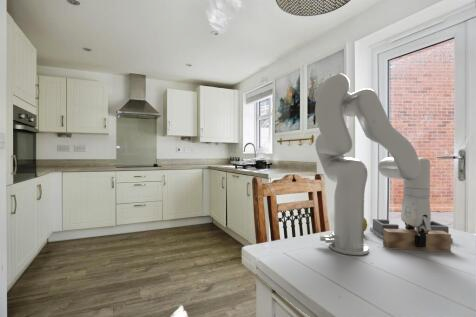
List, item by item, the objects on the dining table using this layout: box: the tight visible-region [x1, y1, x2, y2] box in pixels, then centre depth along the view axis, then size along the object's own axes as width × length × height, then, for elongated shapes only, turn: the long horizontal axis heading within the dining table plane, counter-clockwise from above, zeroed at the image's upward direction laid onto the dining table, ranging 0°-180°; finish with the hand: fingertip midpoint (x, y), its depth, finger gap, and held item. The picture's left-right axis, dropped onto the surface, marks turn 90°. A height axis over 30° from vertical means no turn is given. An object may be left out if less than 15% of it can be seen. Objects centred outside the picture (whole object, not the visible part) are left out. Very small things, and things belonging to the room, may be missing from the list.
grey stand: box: [369, 218, 454, 243], centre depth 102 cm, size 25×12×5 cm, turn 84°
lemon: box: [364, 217, 368, 232], centre depth 104 cm, size 6×6×8 cm
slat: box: [382, 229, 452, 252], centre depth 89 cm, size 20×4×6 cm, turn 83°
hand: (415, 243), depth 89 cm, fingers open, 4 cm apart
